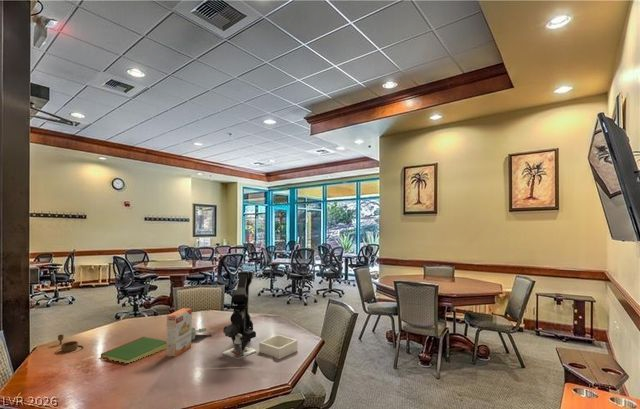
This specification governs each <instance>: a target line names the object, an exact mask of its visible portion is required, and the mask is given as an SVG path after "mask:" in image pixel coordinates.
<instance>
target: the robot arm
mask: <svg viewBox="0 0 640 409" xmlns="http://www.w3.org/2000/svg"><path fill="white" fill-rule="evenodd" d="M236 279H237V280H238V281H237V287H236V289H235V290H234V291H233V294H232V295H231V300H230V301H231V302H230V310H233V311H232V314H231V315H230V319H229V320H230V322H231V324H228V325H226V326H224V328H223V333H224V335H225V337H228V338H230V339H231V341H232V344H233V345H234V340H235V336H236V335H238V334H241V335H242V338H239V339H240V340H241V342H242V350H244V349H245V347H247V344H248V343H249V342H251V340H252V339H254V338H256V337H257V332H256V331H254V323H253V320H252V317H251V314H250V313H249V304H250V302H249V301H250V300H249V299H250V286H251V284H252V282H253V279H254V272H252V270H240V271H238V272H237V278H236Z"/></svg>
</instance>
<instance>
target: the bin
mask: <svg viewBox="0 0 640 409" xmlns="http://www.w3.org/2000/svg"><path fill="white" fill-rule="evenodd" d="M258 352H259V353H262V354H265V355H269V356H271V357H273V358H275V359H278V360H280V359H282V358H285V357H286V356H289V355H291V354H293V353H296V352H298V340H297V339H295V338H292V337H289V336H288V337H287V336H285V335H281V334H276V335H273V336H271V337H268V338H266V339H265V340H262V341H259V342H258Z"/></svg>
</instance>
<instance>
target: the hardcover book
mask: <svg viewBox="0 0 640 409" xmlns="http://www.w3.org/2000/svg"><path fill="white" fill-rule="evenodd" d="M161 350H162V351H164V350H166V340H162V339H158V338H157V339H156V338H152V337H147V336H142V337H140V338H137V339H134V340H132V341H128V342H127V343H124V344H122V345H120V346H116V347H114V348H112V349H108V350H107V351H105V352H102V353H100V358H102V359H104V360H107V359H109V360H108V361H112V360H114V362H116V361H119V362H118V363H121V362H124V363H123V364H126V363H129V364H131V363H130V362H132V363H134V362H137V361H139V360H142V359H144V358H147V357H149V356H152V355H154V354H157V353H159V352H161ZM156 352H157V353H156ZM151 354H152V355H151ZM148 355H149V356H148ZM146 356H147V357H146ZM143 357H144V358H143ZM141 358H142V359H141ZM138 359H139V360H138ZM136 360H137V361H136ZM133 361H134V362H133Z"/></svg>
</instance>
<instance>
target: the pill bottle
mask: <svg viewBox="0 0 640 409" xmlns="http://www.w3.org/2000/svg"><path fill="white" fill-rule="evenodd" d="M239 338H242V335H241V334H238V335H236V336H235V340H234V344H233V348H234V352H233V353H234V354H237V355H240V354H242V353H245V352H246V351H245V349H244V350H242V342H241V340H240V339H239Z"/></svg>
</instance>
